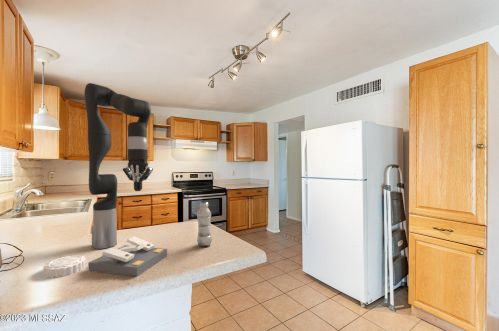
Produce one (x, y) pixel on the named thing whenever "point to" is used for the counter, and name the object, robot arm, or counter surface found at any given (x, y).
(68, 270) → the mooncake
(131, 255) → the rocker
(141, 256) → the switch console
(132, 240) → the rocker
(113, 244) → the robot arm
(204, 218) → the plastic bottle
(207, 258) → the counter surface
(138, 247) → the plate
